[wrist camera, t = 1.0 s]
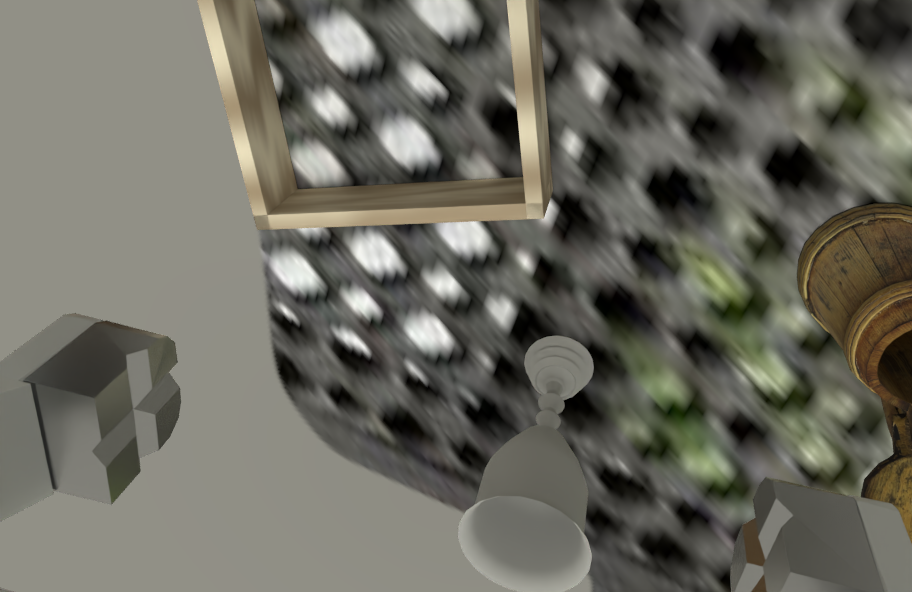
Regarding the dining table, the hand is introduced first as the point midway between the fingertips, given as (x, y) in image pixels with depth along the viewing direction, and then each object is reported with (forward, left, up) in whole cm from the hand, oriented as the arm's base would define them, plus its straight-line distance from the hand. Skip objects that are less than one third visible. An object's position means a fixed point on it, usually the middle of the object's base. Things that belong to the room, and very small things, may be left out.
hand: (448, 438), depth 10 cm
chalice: (+22, +11, -40) cm, 47 cm away
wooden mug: (+6, +24, -40) cm, 47 cm away
